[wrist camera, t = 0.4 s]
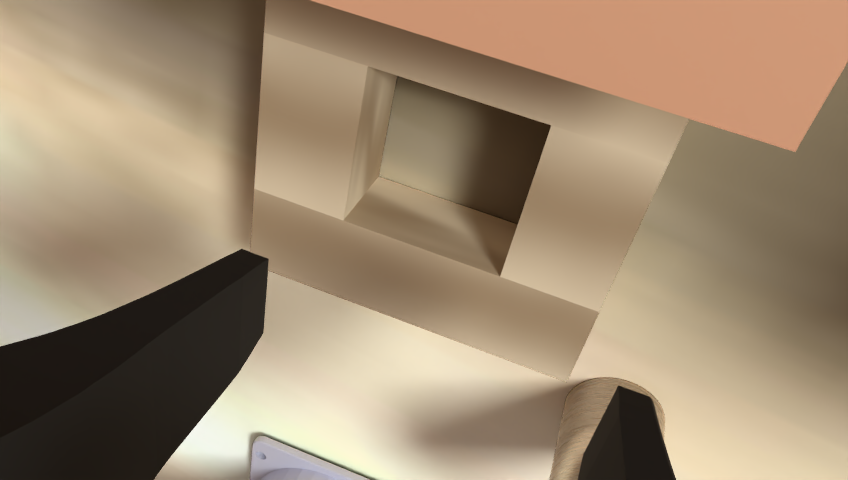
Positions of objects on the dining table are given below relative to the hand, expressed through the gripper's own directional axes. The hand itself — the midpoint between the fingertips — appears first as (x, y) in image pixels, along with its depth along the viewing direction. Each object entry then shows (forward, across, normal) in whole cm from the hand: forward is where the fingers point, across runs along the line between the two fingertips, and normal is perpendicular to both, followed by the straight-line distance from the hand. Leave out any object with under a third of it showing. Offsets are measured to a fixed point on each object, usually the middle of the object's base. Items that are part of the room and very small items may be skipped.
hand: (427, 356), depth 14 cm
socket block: (+10, +2, 0) cm, 10 cm away
